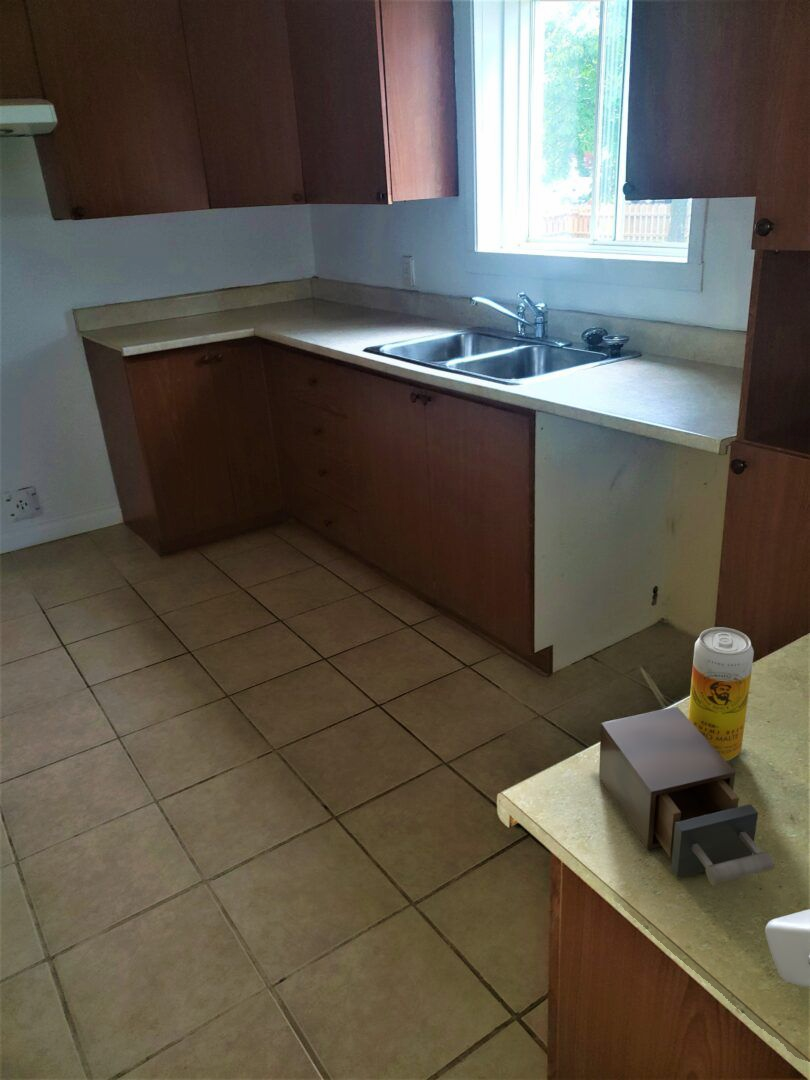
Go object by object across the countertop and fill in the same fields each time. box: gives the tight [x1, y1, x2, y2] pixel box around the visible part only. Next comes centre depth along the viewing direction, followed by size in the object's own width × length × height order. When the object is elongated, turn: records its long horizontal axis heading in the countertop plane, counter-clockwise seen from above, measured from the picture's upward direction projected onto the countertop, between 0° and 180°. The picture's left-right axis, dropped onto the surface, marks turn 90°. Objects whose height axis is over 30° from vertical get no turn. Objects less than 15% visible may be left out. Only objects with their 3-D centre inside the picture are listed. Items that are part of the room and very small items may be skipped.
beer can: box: [687, 626, 755, 762], centre depth 92 cm, size 6×6×15 cm
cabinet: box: [598, 706, 737, 850], centre depth 87 cm, size 11×9×8 cm
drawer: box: [653, 779, 776, 886], centre depth 80 cm, size 15×8×6 cm, turn 13°
